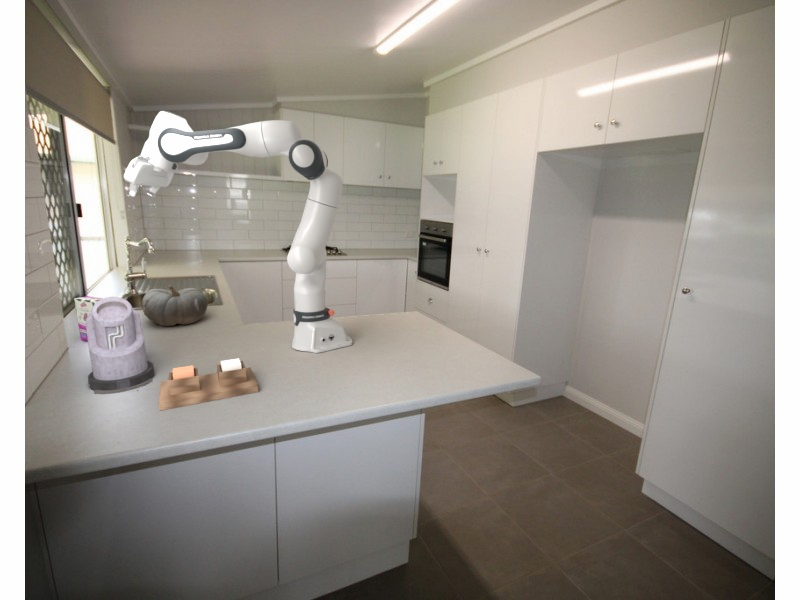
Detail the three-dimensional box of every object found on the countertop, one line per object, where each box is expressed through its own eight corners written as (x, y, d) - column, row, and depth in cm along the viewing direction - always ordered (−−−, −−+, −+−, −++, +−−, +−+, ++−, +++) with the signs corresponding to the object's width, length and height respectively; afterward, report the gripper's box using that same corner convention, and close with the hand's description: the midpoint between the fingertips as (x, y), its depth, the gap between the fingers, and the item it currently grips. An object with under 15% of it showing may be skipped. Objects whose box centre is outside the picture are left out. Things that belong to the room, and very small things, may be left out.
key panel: (250, 373, 124) (249, 355, 123) (258, 391, 112) (257, 371, 111) (161, 388, 113) (159, 368, 112) (159, 410, 101) (156, 388, 100)
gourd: (130, 316, 173) (134, 277, 170) (189, 314, 193) (193, 279, 190) (155, 334, 158) (160, 292, 155) (216, 330, 178) (221, 292, 176)
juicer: (158, 384, 116) (147, 303, 110) (88, 399, 106) (72, 311, 101) (148, 353, 139) (139, 284, 134) (90, 363, 130) (78, 289, 124)
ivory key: (239, 367, 118) (239, 358, 117) (242, 374, 114) (241, 364, 113) (221, 370, 116) (220, 361, 115) (222, 377, 111) (222, 367, 111)
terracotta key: (194, 375, 112) (193, 365, 112) (194, 382, 108) (193, 371, 107) (174, 378, 110) (172, 368, 109) (173, 385, 106) (172, 375, 105)
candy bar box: (113, 340, 151) (107, 298, 147) (99, 344, 146) (92, 301, 142) (94, 336, 155) (87, 295, 151) (80, 340, 150) (72, 298, 147)
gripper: (146, 159, 123) (130, 200, 126) (181, 166, 143) (166, 201, 146) (126, 149, 123) (111, 190, 125) (164, 157, 143) (150, 192, 145)
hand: (141, 196), depth 136 cm, fingers open, 8 cm apart
